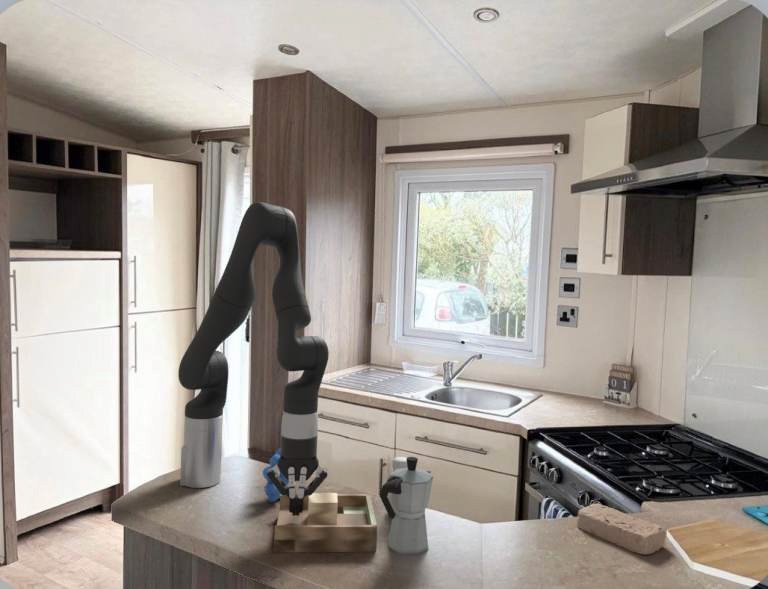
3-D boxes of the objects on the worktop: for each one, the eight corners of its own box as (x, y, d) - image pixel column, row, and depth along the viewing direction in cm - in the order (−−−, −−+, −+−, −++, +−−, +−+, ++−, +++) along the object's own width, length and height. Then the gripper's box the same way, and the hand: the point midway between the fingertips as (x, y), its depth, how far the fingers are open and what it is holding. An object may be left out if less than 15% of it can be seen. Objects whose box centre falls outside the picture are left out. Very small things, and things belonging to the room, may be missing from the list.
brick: (574, 527, 126) (575, 507, 126) (595, 519, 131) (596, 499, 131) (646, 560, 113) (647, 537, 113) (666, 549, 118) (667, 527, 118)
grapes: (272, 486, 140) (274, 440, 140) (297, 491, 139) (299, 443, 138) (249, 505, 129) (251, 454, 129) (276, 509, 127) (278, 458, 127)
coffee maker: (413, 527, 122) (417, 446, 121) (444, 543, 115) (448, 457, 115) (362, 549, 111) (366, 460, 110) (394, 567, 105) (398, 473, 104)
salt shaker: (381, 515, 127) (384, 459, 127) (393, 506, 132) (395, 452, 132) (404, 521, 124) (407, 464, 124) (415, 512, 130) (418, 457, 129)
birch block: (307, 526, 114) (308, 502, 114) (308, 515, 119) (308, 492, 119) (336, 526, 115) (337, 502, 115) (336, 515, 120) (337, 492, 120)
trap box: (273, 552, 108) (274, 527, 108) (279, 516, 124) (280, 494, 124) (376, 551, 111) (377, 526, 110) (368, 515, 127) (370, 494, 126)
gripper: (331, 427, 120) (327, 506, 121) (269, 426, 119) (265, 506, 119) (331, 438, 113) (327, 522, 113) (265, 437, 111) (261, 522, 112)
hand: (295, 513), depth 116 cm, fingers closed
